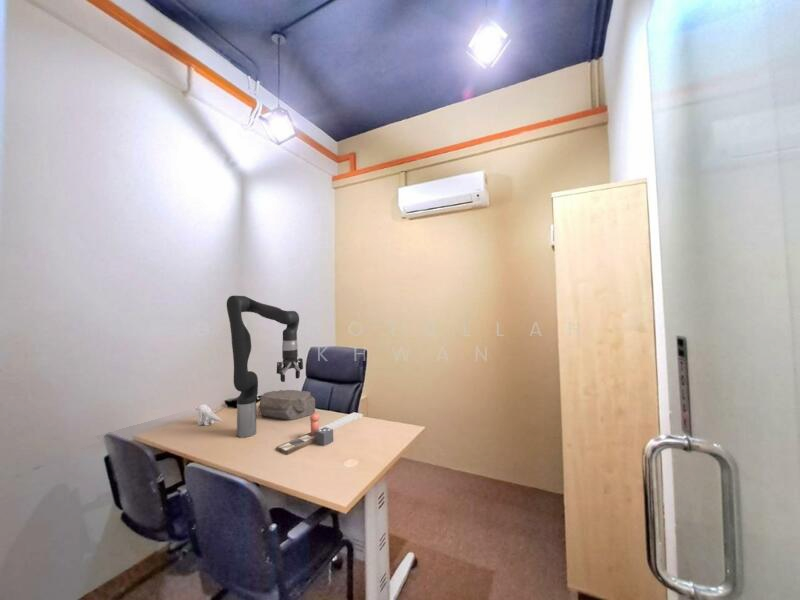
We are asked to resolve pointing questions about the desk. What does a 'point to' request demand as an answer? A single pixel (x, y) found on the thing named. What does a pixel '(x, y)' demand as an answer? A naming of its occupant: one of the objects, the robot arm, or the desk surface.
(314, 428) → the pawn
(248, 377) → the robot arm
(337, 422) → the baseboard
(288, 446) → the game strip
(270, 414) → the stone
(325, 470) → the desk surface
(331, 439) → the die
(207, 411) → the white dinosaur figurine
